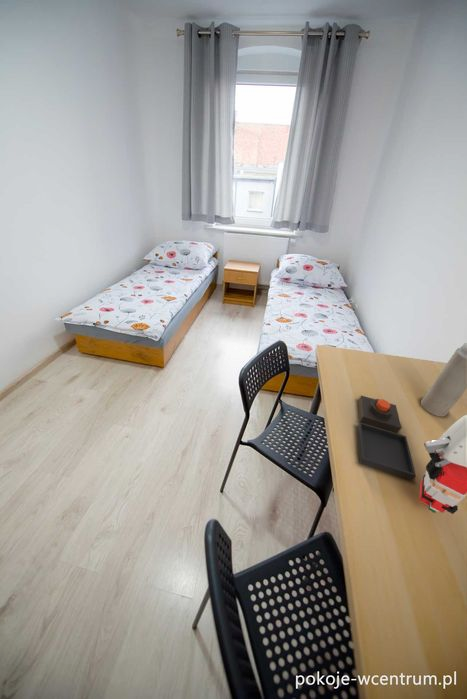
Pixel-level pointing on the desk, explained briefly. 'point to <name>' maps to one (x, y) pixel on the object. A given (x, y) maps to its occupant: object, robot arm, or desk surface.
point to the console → (378, 415)
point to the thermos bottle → (448, 384)
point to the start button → (383, 405)
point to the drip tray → (385, 451)
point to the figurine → (444, 488)
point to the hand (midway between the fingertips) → (448, 478)
